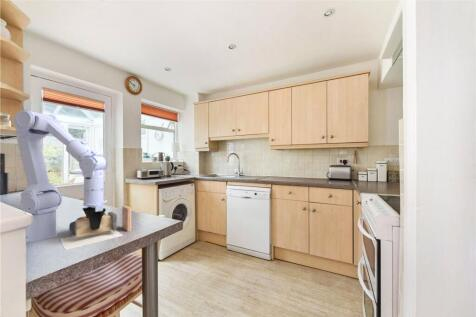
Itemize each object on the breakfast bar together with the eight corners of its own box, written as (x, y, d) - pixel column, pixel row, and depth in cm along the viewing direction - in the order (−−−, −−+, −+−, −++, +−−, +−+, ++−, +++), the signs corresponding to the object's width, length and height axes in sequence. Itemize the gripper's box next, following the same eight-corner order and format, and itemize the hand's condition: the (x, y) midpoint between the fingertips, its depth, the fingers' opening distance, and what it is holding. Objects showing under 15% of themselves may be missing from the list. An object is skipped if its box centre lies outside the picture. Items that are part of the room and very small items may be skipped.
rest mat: (65, 251, 62) (65, 249, 62) (60, 240, 70) (60, 238, 70) (123, 236, 73) (123, 235, 73) (113, 228, 81) (113, 227, 81)
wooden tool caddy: (77, 238, 66) (77, 221, 66) (74, 233, 70) (74, 217, 70) (116, 230, 74) (116, 214, 74) (111, 226, 78) (111, 211, 78)
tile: (127, 232, 77) (127, 208, 77) (122, 228, 81) (122, 206, 81) (131, 231, 78) (131, 208, 78) (125, 228, 82) (125, 205, 82)
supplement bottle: (108, 227, 83) (77, 237, 72) (98, 224, 85) (67, 234, 75) (108, 212, 83) (77, 221, 72) (98, 210, 85) (67, 218, 75)
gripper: (113, 190, 70) (113, 230, 70) (101, 186, 80) (101, 221, 80) (87, 193, 64) (87, 236, 65) (79, 188, 74) (79, 225, 75)
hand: (94, 228), depth 72 cm, fingers closed on wooden tool caddy, 3 cm apart
